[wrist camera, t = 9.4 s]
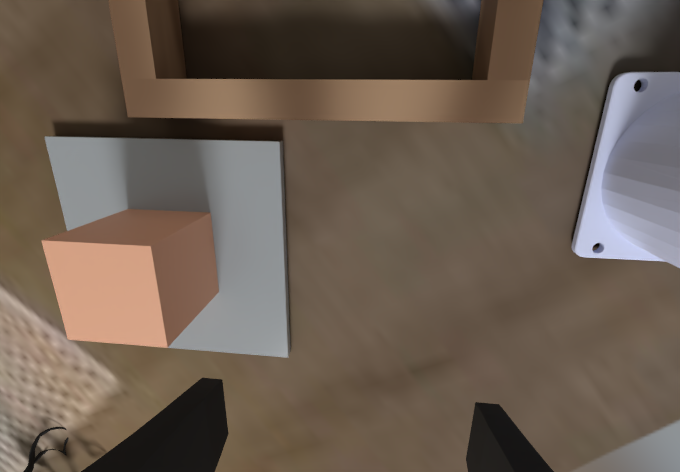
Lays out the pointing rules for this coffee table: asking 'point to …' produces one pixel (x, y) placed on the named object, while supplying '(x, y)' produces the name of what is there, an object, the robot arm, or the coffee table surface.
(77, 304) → the terracotta block
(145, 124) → the coffee table surface
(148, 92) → the well frame
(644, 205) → the robot arm
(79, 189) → the tile
